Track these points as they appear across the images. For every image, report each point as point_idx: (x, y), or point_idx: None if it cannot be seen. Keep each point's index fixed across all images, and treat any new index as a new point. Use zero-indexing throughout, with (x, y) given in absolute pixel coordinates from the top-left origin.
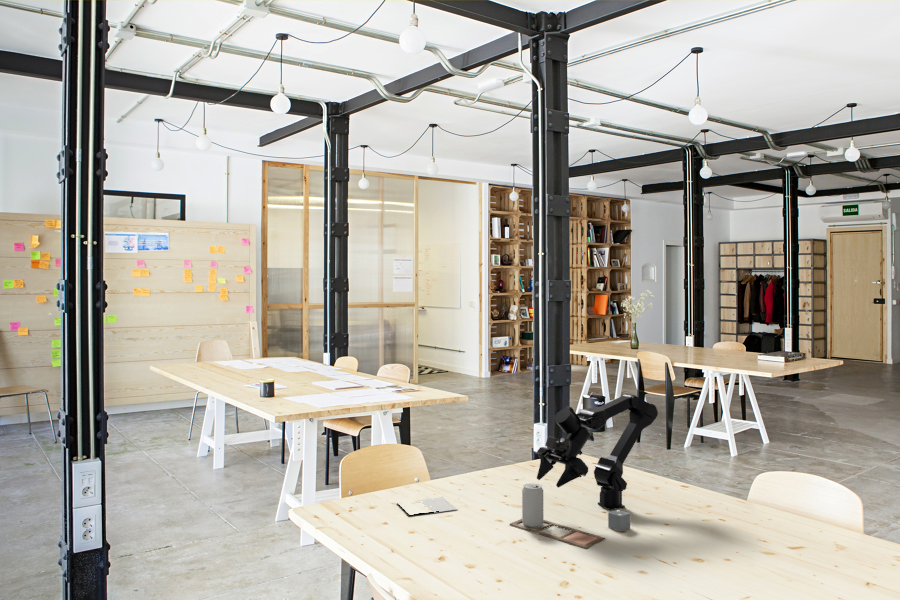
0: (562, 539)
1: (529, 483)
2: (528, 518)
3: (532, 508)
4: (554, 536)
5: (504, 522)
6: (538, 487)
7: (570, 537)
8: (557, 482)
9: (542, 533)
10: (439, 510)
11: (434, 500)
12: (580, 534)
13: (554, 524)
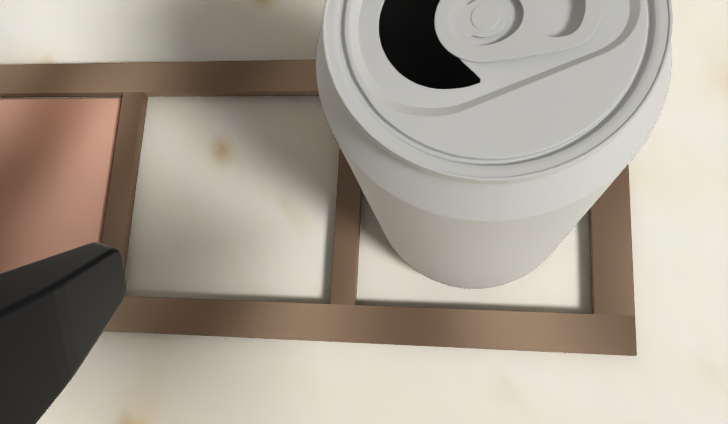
0: (105, 71)
1: (645, 98)
2: (452, 75)
3: (409, 42)
4: (178, 79)
5: (702, 80)
6: (371, 32)
7: (79, 150)
8: (71, 266)
9: (281, 67)
10: None
11: None
12: (43, 257)
13: (311, 306)
